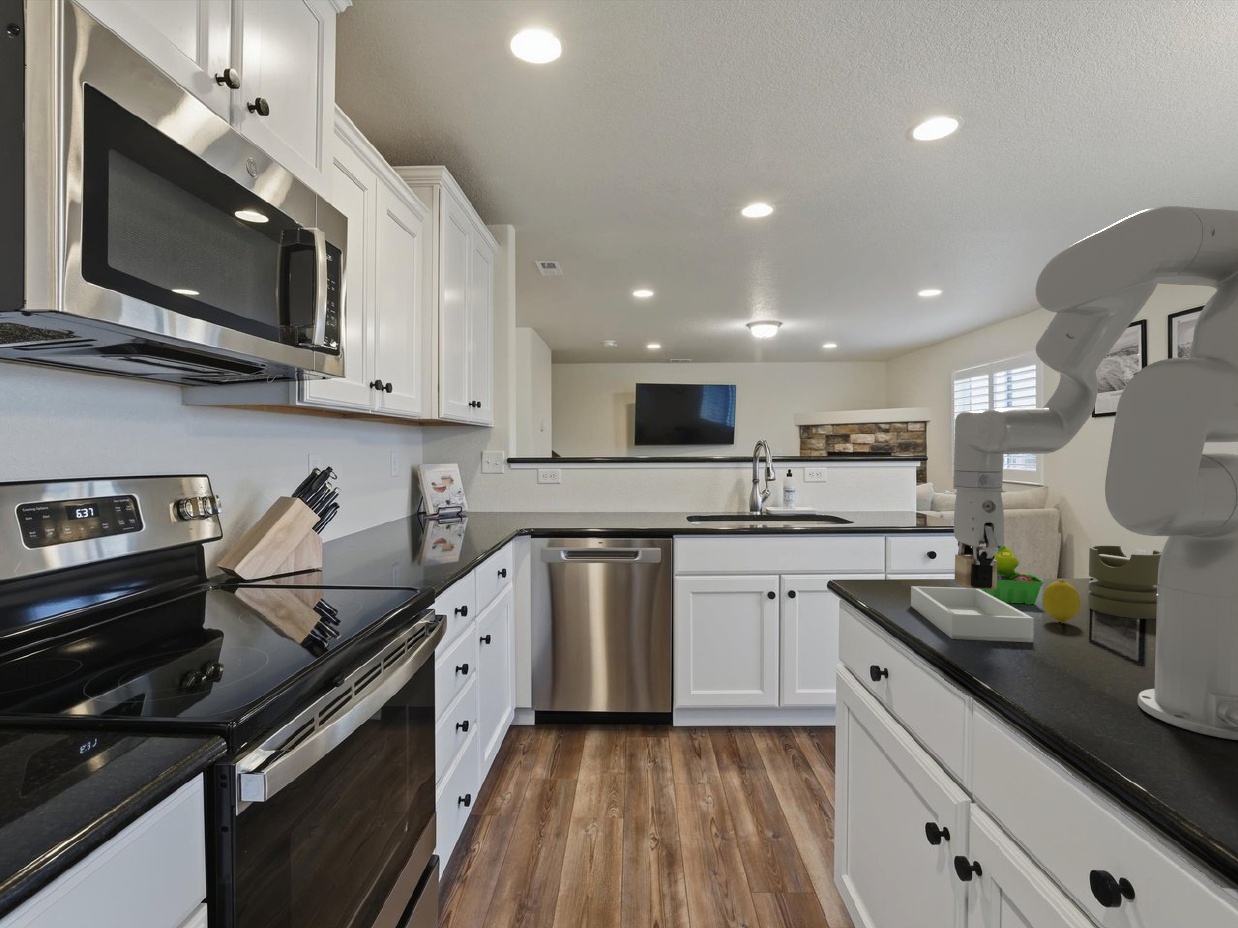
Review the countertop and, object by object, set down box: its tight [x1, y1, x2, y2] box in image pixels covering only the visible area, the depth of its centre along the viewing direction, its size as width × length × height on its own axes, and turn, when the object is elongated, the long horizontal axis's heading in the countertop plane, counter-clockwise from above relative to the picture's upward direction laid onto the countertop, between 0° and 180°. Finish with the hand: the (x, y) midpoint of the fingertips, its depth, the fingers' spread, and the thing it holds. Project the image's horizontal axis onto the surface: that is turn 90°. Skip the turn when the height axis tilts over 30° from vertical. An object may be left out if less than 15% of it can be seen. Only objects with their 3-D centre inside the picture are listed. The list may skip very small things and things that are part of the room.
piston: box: [1087, 544, 1162, 620], centre depth 123 cm, size 11×12×11 cm
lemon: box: [1042, 579, 1081, 624], centre depth 114 cm, size 6×6×8 cm
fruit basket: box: [980, 544, 1044, 605], centre depth 132 cm, size 11×9×11 cm
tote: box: [910, 585, 1035, 643], centre depth 115 cm, size 22×13×4 cm, turn 172°
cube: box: [953, 553, 997, 589], centre depth 111 cm, size 5×5×5 cm
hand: (974, 582), depth 111 cm, fingers closed on cube, 5 cm apart
